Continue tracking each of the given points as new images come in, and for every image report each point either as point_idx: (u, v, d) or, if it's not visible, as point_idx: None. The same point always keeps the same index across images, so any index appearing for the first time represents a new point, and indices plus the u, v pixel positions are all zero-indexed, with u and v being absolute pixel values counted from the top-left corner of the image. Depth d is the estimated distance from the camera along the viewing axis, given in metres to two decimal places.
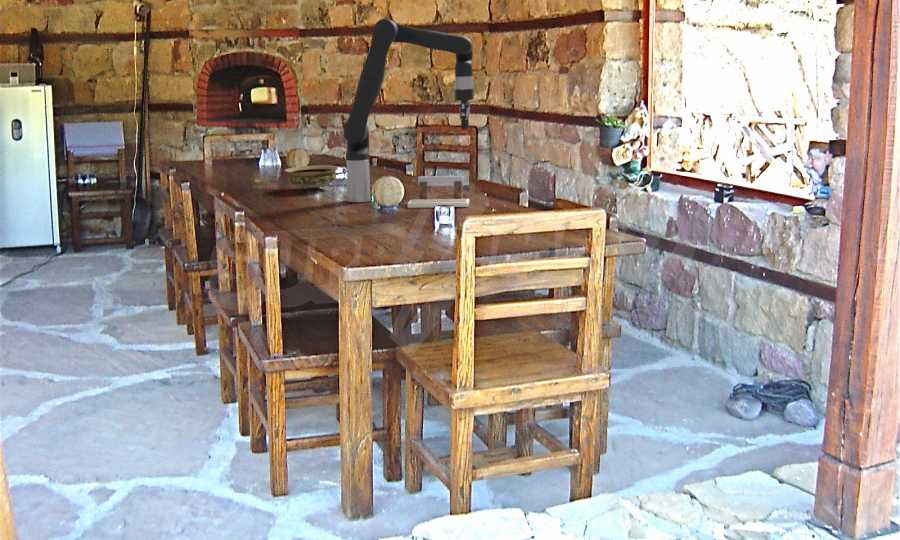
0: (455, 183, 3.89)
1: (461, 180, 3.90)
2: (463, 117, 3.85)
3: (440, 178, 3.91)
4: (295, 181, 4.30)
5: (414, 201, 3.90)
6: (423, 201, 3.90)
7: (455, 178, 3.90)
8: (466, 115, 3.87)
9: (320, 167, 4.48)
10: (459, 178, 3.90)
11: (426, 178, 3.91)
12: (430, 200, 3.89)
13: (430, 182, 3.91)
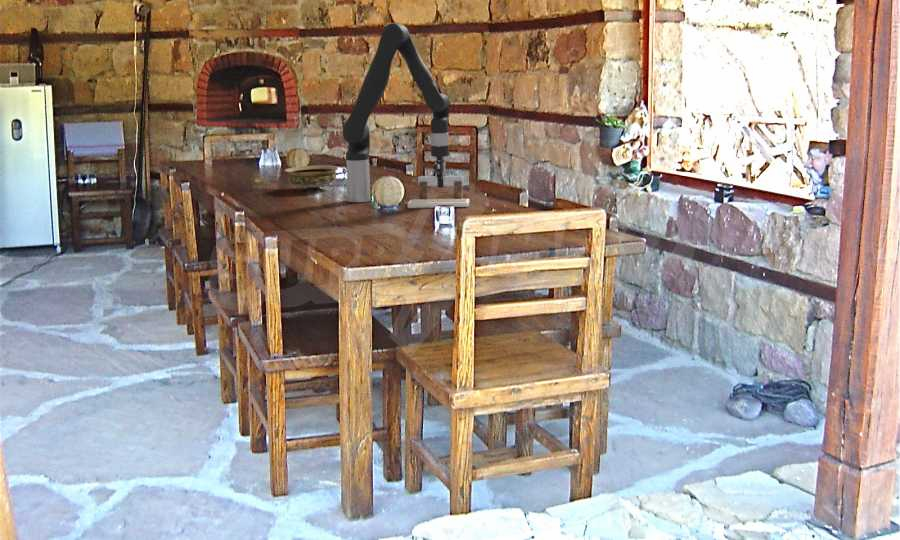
0: (455, 183, 3.89)
1: (461, 180, 3.90)
2: (439, 176, 3.87)
3: None
4: (295, 181, 4.30)
5: (414, 201, 3.90)
6: (423, 201, 3.90)
7: (455, 178, 3.90)
8: (442, 174, 3.89)
9: (320, 167, 4.48)
10: (459, 178, 3.90)
11: (426, 178, 3.91)
12: (430, 200, 3.89)
13: (430, 182, 3.91)
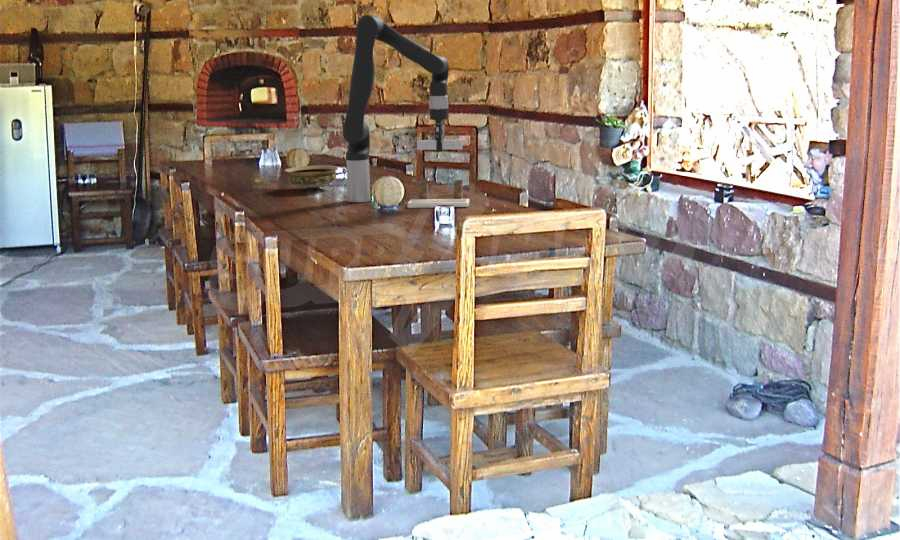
0: (455, 183, 3.89)
1: (460, 144, 3.87)
2: (438, 139, 3.84)
3: None
4: (295, 181, 4.30)
5: (414, 201, 3.90)
6: (423, 201, 3.90)
7: (454, 142, 3.87)
8: (441, 137, 3.86)
9: (320, 167, 4.48)
10: (458, 142, 3.87)
11: (425, 142, 3.88)
12: (430, 200, 3.89)
13: (429, 146, 3.88)
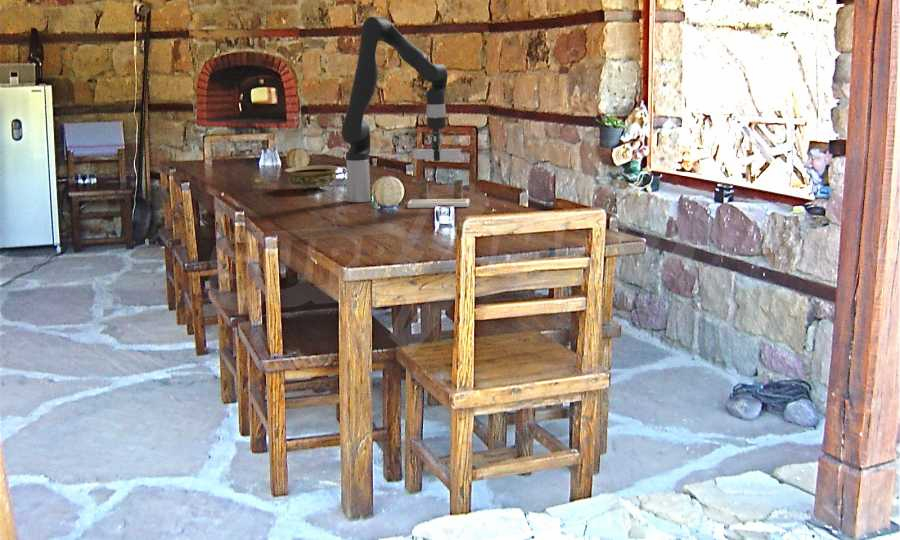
0: (455, 183, 3.89)
1: (458, 153, 3.78)
2: (435, 148, 3.76)
3: None
4: (295, 181, 4.30)
5: (414, 201, 3.90)
6: (423, 201, 3.90)
7: (452, 151, 3.78)
8: (439, 146, 3.77)
9: (320, 167, 4.48)
10: (456, 151, 3.78)
11: (422, 151, 3.79)
12: (430, 200, 3.89)
13: (426, 155, 3.80)
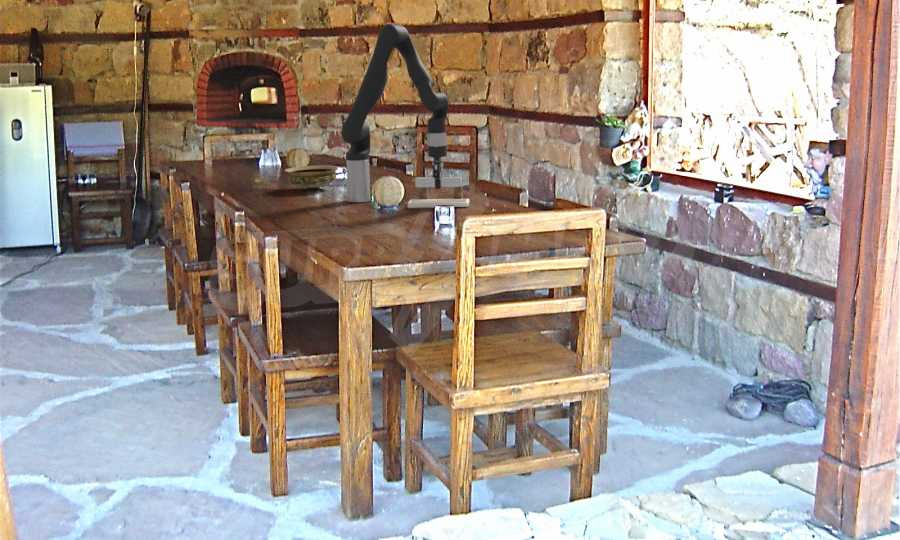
0: None
1: (459, 181, 3.81)
2: (437, 177, 3.78)
3: None
4: (295, 181, 4.30)
5: (414, 201, 3.90)
6: (423, 201, 3.90)
7: (453, 179, 3.81)
8: (440, 175, 3.80)
9: (320, 167, 4.48)
10: (457, 179, 3.81)
11: (423, 179, 3.82)
12: (430, 200, 3.89)
13: (427, 184, 3.82)
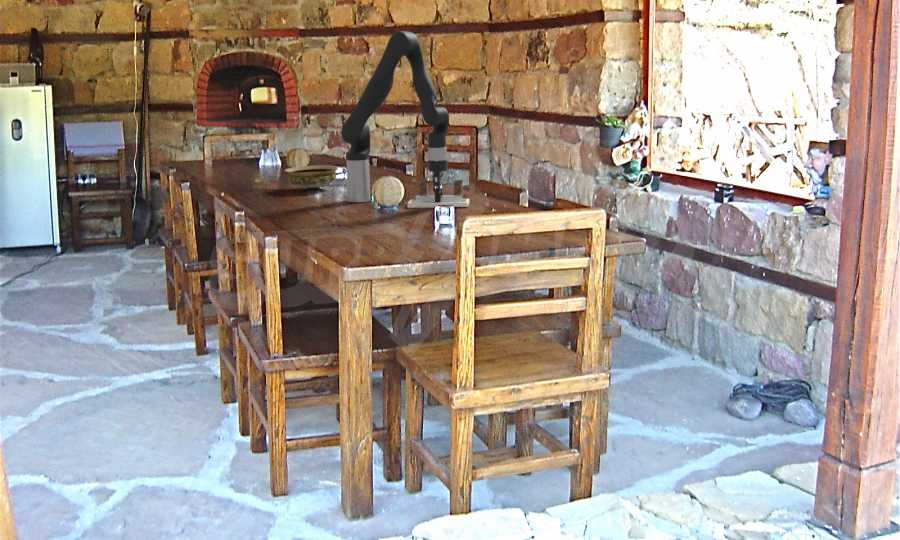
0: (455, 183, 3.89)
1: (459, 200, 3.82)
2: (436, 190, 3.78)
3: None
4: (295, 181, 4.30)
5: (414, 201, 3.90)
6: None
7: (453, 197, 3.82)
8: (439, 188, 3.80)
9: (320, 167, 4.48)
10: (457, 197, 3.82)
11: (424, 197, 3.84)
12: None
13: (427, 202, 3.84)
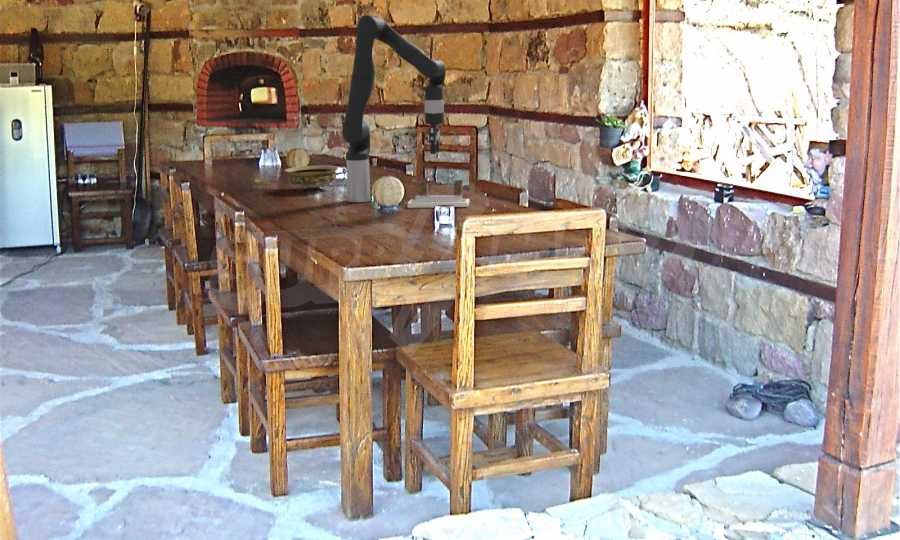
0: (455, 183, 3.89)
1: (459, 200, 3.82)
2: (432, 141, 3.78)
3: (438, 197, 3.83)
4: (295, 181, 4.30)
5: (414, 201, 3.90)
6: None
7: (453, 197, 3.82)
8: (435, 139, 3.80)
9: (320, 167, 4.48)
10: (457, 197, 3.82)
11: (424, 197, 3.84)
12: None
13: (427, 202, 3.84)
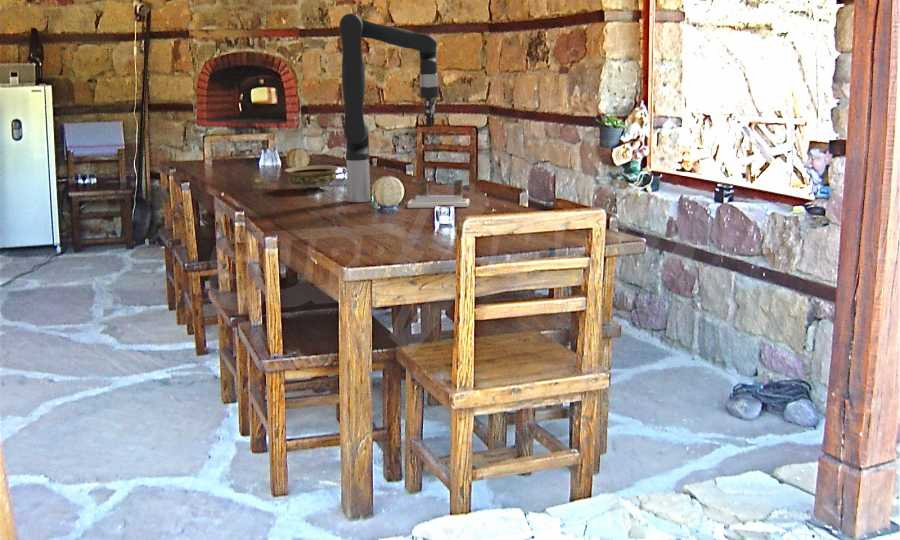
0: (455, 183, 3.89)
1: (459, 200, 3.82)
2: (428, 114, 3.91)
3: (438, 197, 3.83)
4: (295, 181, 4.30)
5: (414, 201, 3.90)
6: None
7: (453, 197, 3.82)
8: (431, 112, 3.93)
9: (320, 167, 4.48)
10: (457, 197, 3.82)
11: (424, 197, 3.84)
12: None
13: (427, 202, 3.84)
